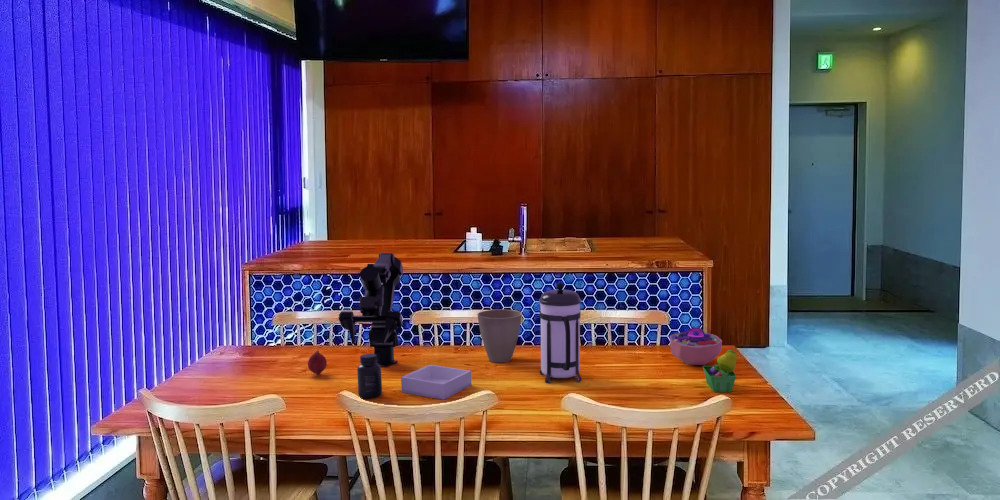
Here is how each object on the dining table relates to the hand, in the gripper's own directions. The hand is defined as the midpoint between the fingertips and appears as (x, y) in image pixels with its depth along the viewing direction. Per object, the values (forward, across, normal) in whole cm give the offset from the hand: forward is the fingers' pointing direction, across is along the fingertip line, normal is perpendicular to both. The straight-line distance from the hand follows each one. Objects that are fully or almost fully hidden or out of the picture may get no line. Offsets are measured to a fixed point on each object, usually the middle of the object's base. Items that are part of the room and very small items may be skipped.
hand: (367, 343), depth 229 cm
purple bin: (+11, +20, +8) cm, 25 cm away
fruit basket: (+11, +105, +8) cm, 106 cm away
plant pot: (-11, +39, +31) cm, 51 cm away
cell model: (-7, +103, +27) cm, 107 cm away
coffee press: (+5, +58, +15) cm, 60 cm away
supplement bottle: (+15, +2, +4) cm, 16 cm away
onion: (+1, -19, +19) cm, 27 cm away
